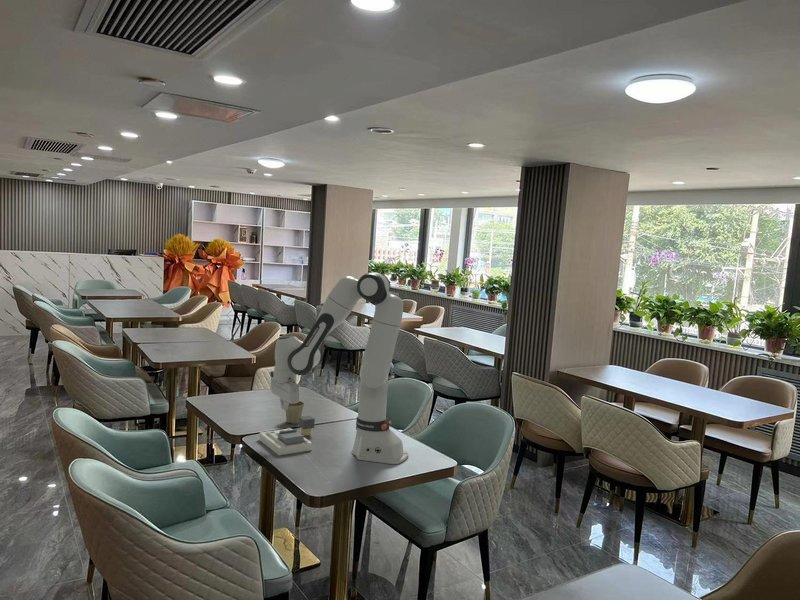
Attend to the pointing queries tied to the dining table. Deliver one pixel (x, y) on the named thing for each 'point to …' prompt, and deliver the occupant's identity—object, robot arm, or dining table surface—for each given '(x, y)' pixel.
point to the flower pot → (294, 412)
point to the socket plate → (279, 447)
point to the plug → (306, 424)
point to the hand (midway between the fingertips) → (284, 409)
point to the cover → (290, 436)
